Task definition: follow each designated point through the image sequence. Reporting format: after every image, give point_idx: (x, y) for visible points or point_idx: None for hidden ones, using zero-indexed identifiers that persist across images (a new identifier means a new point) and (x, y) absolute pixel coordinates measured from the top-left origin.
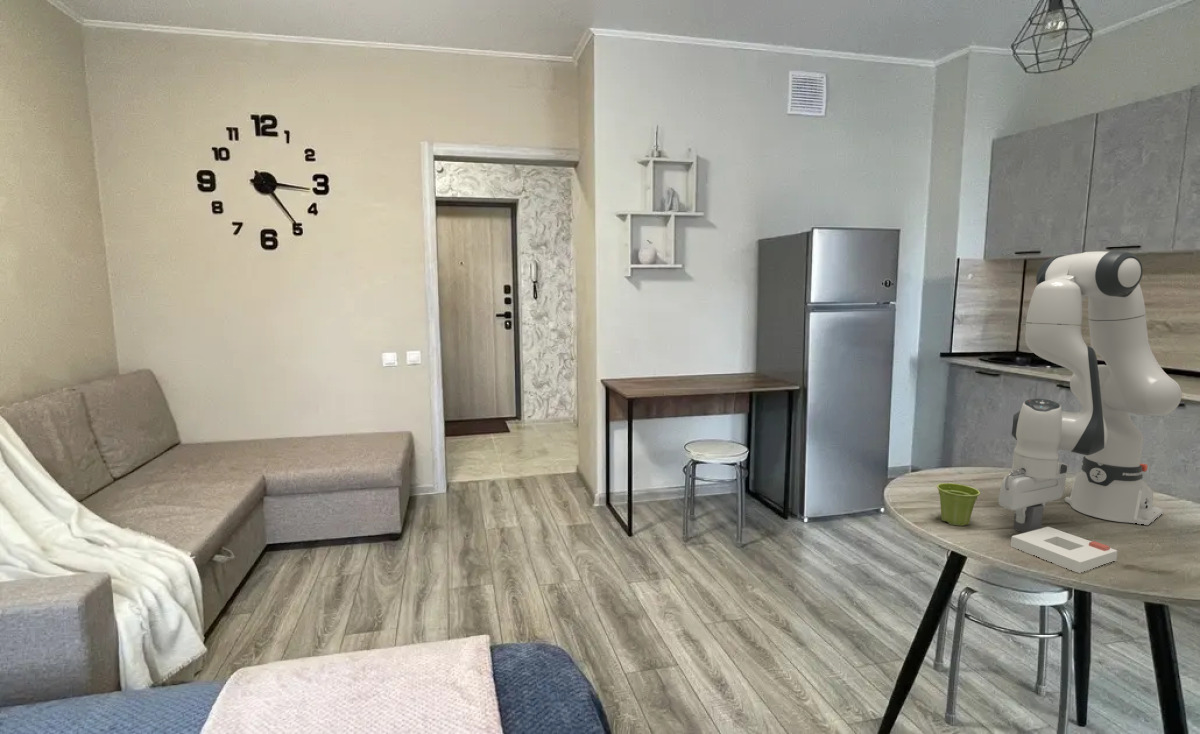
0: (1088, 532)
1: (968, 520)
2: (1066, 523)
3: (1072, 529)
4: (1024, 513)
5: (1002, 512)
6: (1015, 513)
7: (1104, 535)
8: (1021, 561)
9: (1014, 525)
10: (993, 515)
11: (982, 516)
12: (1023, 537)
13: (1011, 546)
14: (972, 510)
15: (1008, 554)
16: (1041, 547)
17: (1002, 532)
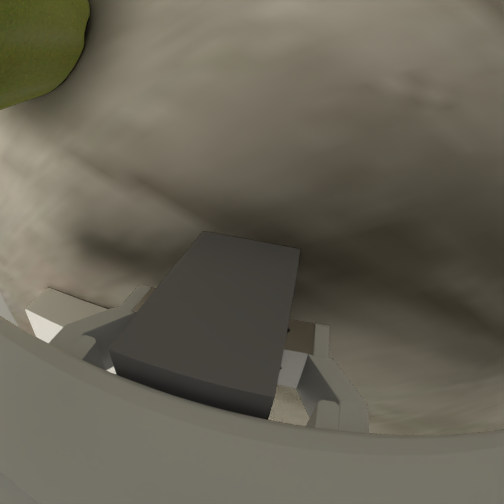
0: (441, 403)
1: (26, 100)
2: (500, 343)
3: (441, 375)
4: (110, 362)
5: (455, 76)
6: (159, 286)
7: (440, 424)
8: (26, 324)
9: (193, 245)
10: (339, 51)
11: (243, 23)
12: (51, 336)
13: (48, 290)
14: (3, 100)
15: (20, 296)
16: None
17: (112, 218)
